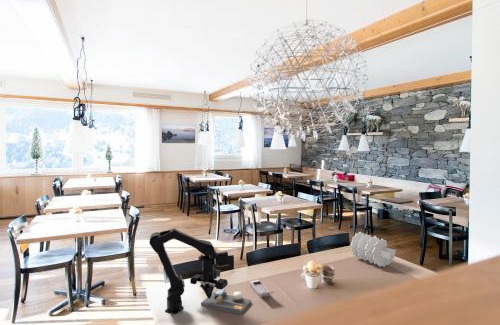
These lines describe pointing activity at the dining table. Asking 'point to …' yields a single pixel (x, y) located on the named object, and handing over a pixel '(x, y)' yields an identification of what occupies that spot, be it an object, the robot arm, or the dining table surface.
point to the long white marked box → (259, 288)
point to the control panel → (227, 303)
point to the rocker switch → (220, 292)
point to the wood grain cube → (219, 300)
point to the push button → (237, 295)
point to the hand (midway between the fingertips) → (209, 298)
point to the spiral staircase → (372, 249)
